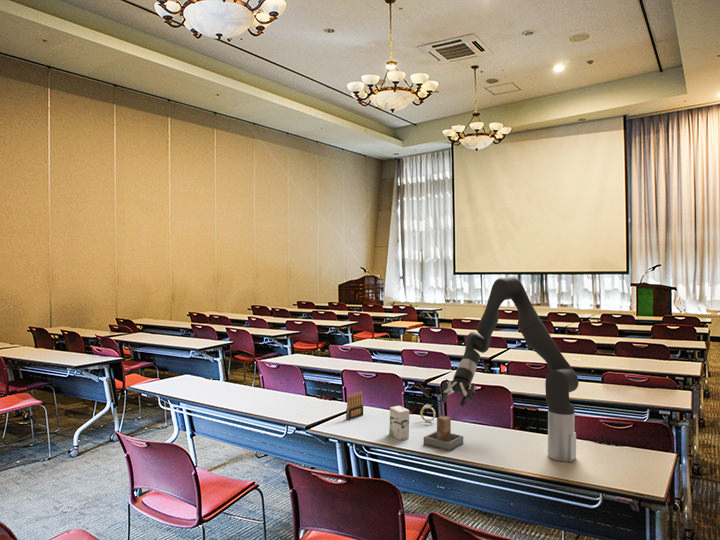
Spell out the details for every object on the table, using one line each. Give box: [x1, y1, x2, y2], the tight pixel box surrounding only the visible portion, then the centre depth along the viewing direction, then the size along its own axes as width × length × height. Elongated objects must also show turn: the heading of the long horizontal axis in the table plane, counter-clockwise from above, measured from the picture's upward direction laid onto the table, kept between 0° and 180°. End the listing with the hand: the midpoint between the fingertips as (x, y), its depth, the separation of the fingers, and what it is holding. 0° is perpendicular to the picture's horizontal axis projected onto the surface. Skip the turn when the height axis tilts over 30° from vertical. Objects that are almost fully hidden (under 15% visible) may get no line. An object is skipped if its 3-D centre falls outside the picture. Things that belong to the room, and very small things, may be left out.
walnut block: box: [436, 415, 452, 442], centre depth 202 cm, size 4×4×10 cm
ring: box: [419, 403, 437, 423], centre depth 232 cm, size 7×3×8 cm, turn 61°
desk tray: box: [423, 430, 464, 452], centre depth 202 cm, size 12×12×3 cm
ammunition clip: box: [345, 390, 364, 421], centre depth 238 cm, size 11×2×12 cm, turn 140°
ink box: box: [388, 405, 410, 441], centre depth 211 cm, size 9×5×12 cm, turn 28°
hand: (452, 403), depth 207 cm, fingers open, 8 cm apart
